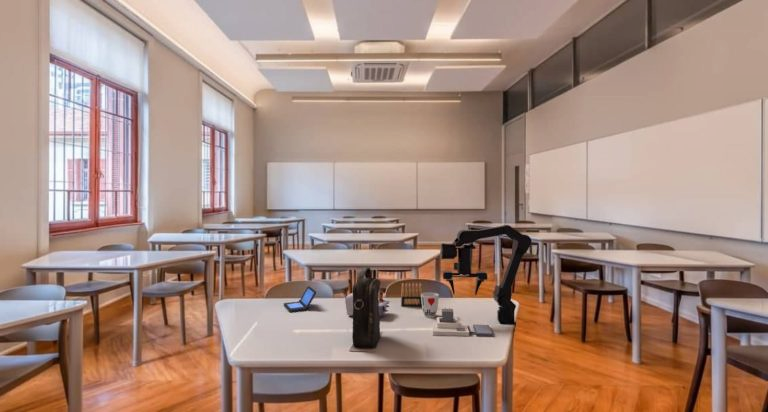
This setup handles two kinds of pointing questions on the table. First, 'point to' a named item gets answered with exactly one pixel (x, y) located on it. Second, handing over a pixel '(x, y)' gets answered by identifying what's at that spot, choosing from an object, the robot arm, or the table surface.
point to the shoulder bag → (366, 312)
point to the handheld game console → (301, 301)
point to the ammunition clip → (411, 296)
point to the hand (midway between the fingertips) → (464, 294)
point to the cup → (429, 304)
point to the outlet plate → (450, 328)
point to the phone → (483, 330)
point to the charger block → (447, 315)
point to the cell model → (349, 305)
